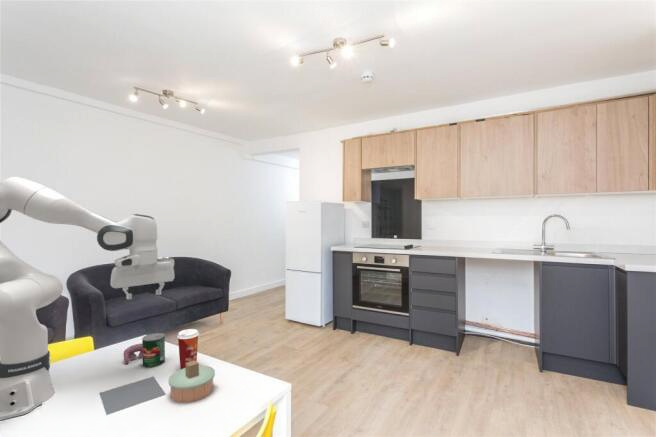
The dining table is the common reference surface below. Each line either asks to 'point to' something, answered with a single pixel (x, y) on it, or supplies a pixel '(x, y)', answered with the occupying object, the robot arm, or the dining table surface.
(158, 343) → the canned tomato
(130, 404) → the mat
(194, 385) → the cover
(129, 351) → the video game controller
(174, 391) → the bowl
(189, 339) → the paper cup
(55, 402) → the dining table surface
